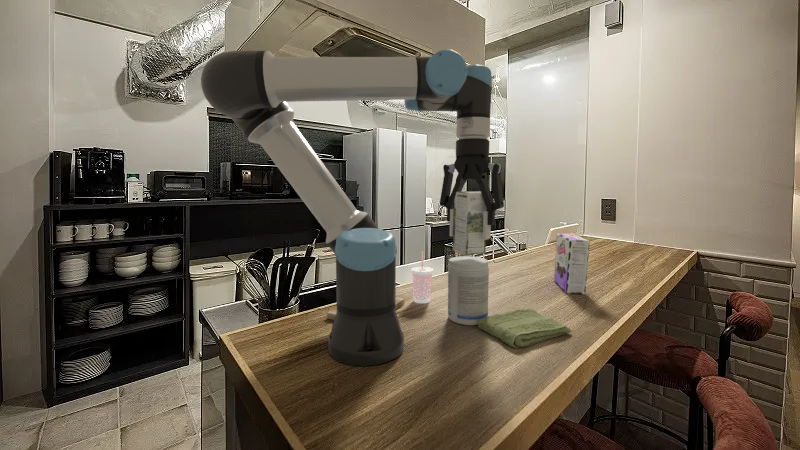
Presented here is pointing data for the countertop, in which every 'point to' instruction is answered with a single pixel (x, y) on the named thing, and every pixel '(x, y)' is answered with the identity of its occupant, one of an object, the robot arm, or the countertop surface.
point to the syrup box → (469, 223)
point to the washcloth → (522, 327)
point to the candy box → (571, 263)
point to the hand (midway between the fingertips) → (469, 237)
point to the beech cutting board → (332, 313)
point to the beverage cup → (422, 283)
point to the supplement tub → (467, 289)
